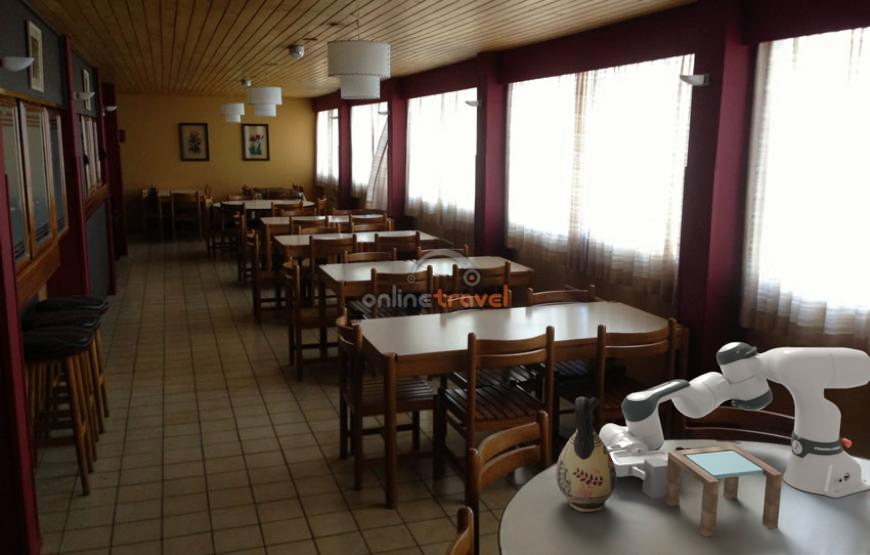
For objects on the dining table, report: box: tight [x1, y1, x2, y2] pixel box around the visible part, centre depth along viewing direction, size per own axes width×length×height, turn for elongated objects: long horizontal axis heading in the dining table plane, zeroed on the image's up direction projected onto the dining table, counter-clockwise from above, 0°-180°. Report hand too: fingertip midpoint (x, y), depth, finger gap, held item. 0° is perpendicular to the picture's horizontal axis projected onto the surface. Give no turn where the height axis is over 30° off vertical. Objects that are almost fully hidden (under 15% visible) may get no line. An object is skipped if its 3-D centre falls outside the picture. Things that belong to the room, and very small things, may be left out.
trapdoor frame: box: [664, 444, 784, 537], centre depth 186 cm, size 20×18×14 cm
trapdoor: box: [685, 451, 763, 480], centre depth 185 cm, size 14×12×1 cm
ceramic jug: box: [555, 396, 617, 513], centre depth 189 cm, size 17×15×30 cm
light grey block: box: [642, 458, 667, 499], centre depth 198 cm, size 5×5×9 cm
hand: (658, 475), depth 197 cm, fingers open, 6 cm apart
